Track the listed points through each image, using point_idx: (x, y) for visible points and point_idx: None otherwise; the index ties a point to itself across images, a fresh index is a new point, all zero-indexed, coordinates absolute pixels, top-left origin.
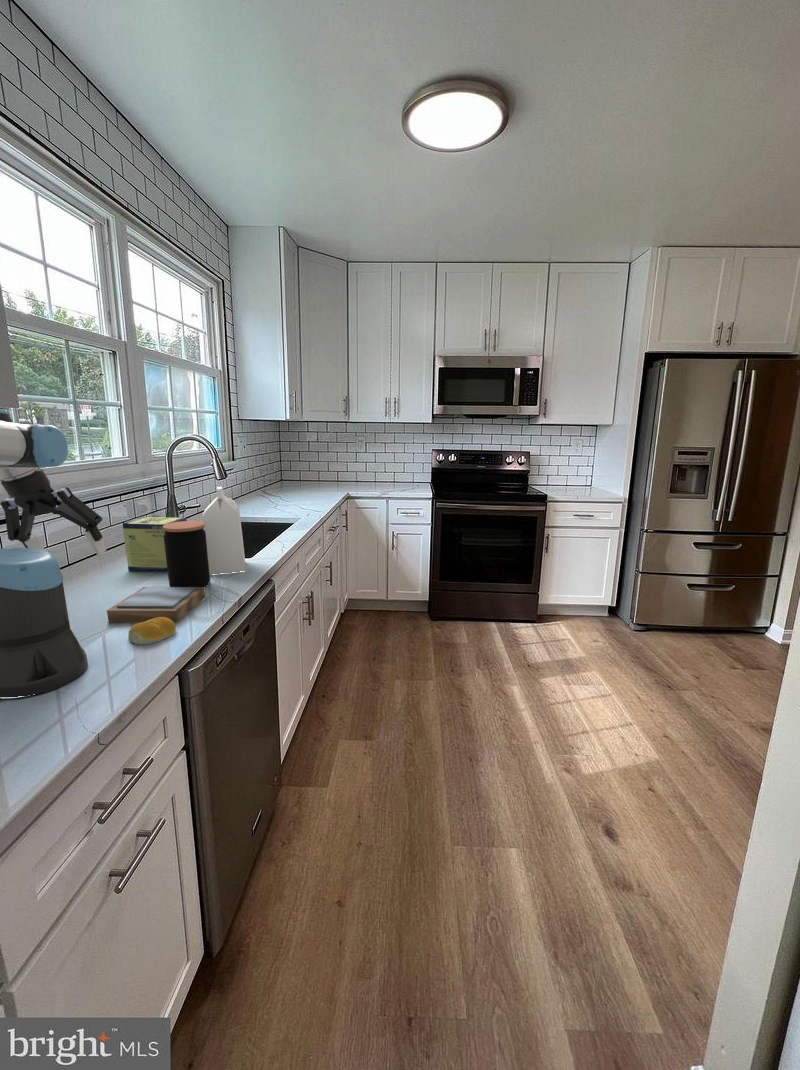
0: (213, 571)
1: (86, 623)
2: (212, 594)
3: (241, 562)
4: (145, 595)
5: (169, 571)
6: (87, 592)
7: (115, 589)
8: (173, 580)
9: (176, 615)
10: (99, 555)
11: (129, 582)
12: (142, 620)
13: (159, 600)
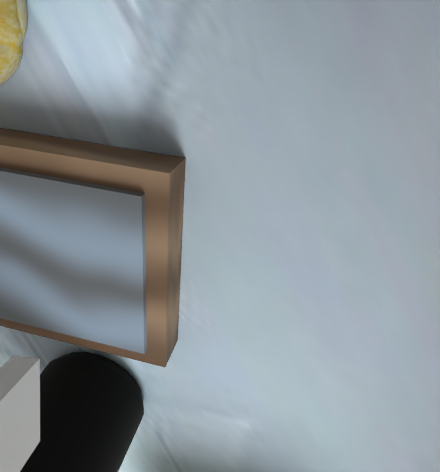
0: None
1: (261, 161)
2: None
3: None
4: (101, 280)
5: (97, 421)
6: (383, 422)
7: (302, 421)
8: (97, 387)
9: None
10: (24, 357)
11: (284, 457)
12: (66, 140)
13: (26, 224)
